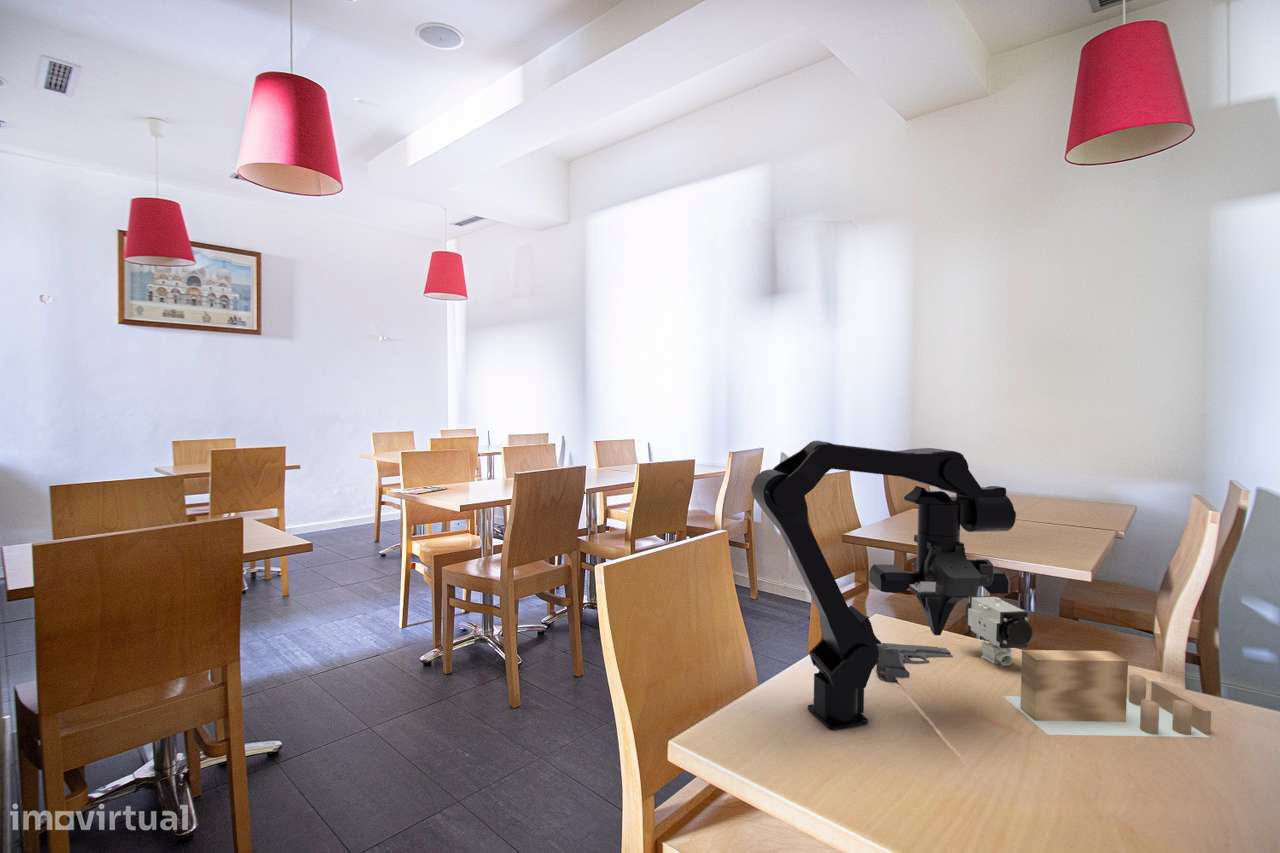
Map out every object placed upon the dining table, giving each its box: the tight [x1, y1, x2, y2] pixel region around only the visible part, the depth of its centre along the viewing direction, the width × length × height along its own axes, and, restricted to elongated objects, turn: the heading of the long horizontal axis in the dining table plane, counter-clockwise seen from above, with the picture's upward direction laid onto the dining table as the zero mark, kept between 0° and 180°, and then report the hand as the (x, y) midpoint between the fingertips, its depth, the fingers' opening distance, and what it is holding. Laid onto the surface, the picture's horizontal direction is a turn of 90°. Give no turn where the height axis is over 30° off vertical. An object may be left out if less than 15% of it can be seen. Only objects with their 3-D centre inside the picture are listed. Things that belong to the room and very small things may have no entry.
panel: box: [1002, 673, 1212, 739], centre depth 90 cm, size 23×11×5 cm, turn 88°
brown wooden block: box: [1020, 649, 1129, 722], centre depth 90 cm, size 13×4×9 cm, turn 88°
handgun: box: [876, 642, 954, 683], centre depth 108 cm, size 3×16×12 cm
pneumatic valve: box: [965, 595, 1033, 667], centre depth 109 cm, size 6×12×12 cm, turn 6°
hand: (936, 634), depth 92 cm, fingers closed
